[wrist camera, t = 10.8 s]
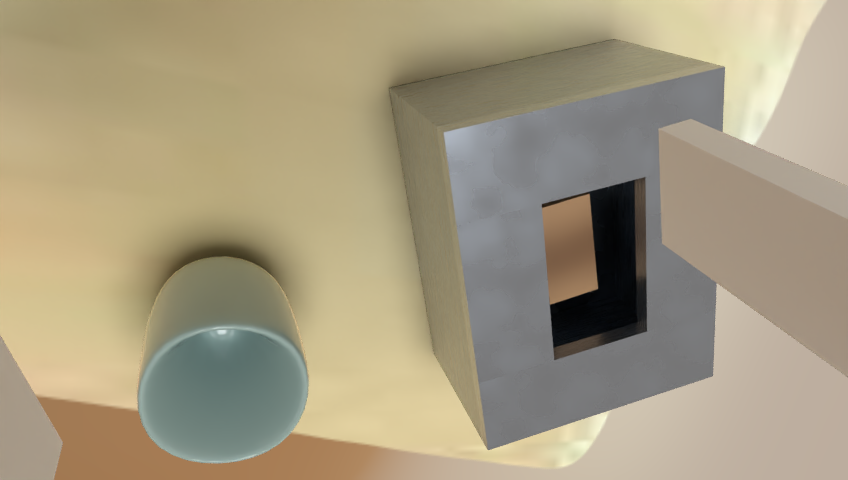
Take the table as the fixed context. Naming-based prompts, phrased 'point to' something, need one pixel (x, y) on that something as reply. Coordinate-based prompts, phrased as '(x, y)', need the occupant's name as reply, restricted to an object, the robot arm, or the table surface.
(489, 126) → the coin box
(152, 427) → the cup
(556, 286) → the block
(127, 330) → the table surface
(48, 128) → the table surface
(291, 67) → the table surface
